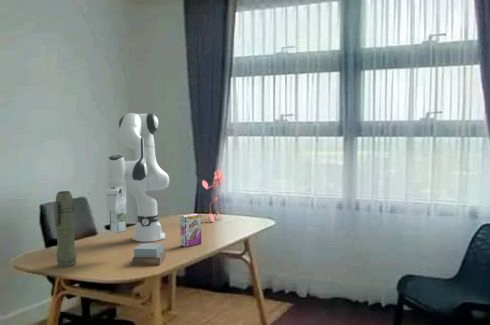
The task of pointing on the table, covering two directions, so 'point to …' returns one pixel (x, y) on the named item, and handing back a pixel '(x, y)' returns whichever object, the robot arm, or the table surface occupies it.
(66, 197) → the thermos
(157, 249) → the tower top
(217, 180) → the figurine
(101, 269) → the table surface
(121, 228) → the syrup box
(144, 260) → the tower bottom
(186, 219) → the candy bar box
